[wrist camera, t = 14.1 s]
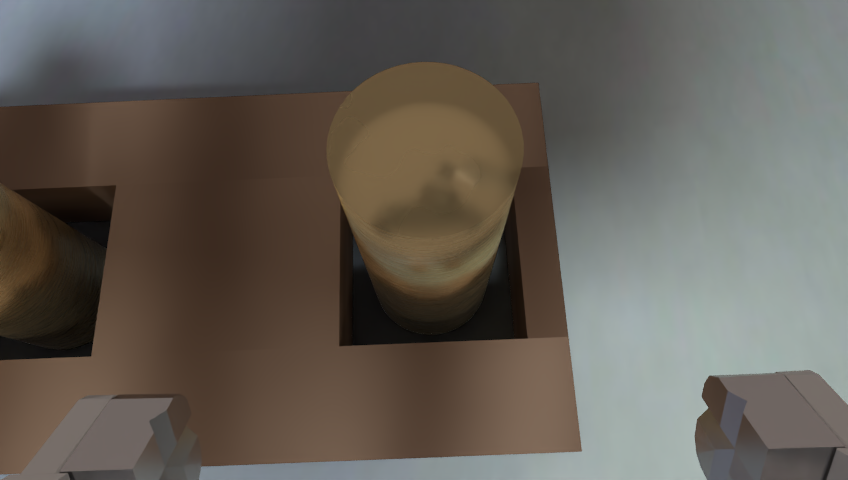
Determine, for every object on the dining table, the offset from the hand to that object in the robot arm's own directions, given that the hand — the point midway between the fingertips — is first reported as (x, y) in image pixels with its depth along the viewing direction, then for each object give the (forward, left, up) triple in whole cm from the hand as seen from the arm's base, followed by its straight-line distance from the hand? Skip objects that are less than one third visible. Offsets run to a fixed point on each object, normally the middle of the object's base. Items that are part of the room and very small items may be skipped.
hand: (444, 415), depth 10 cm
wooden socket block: (+7, -5, -11) cm, 14 cm away
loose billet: (0, -5, -11) cm, 12 cm away
